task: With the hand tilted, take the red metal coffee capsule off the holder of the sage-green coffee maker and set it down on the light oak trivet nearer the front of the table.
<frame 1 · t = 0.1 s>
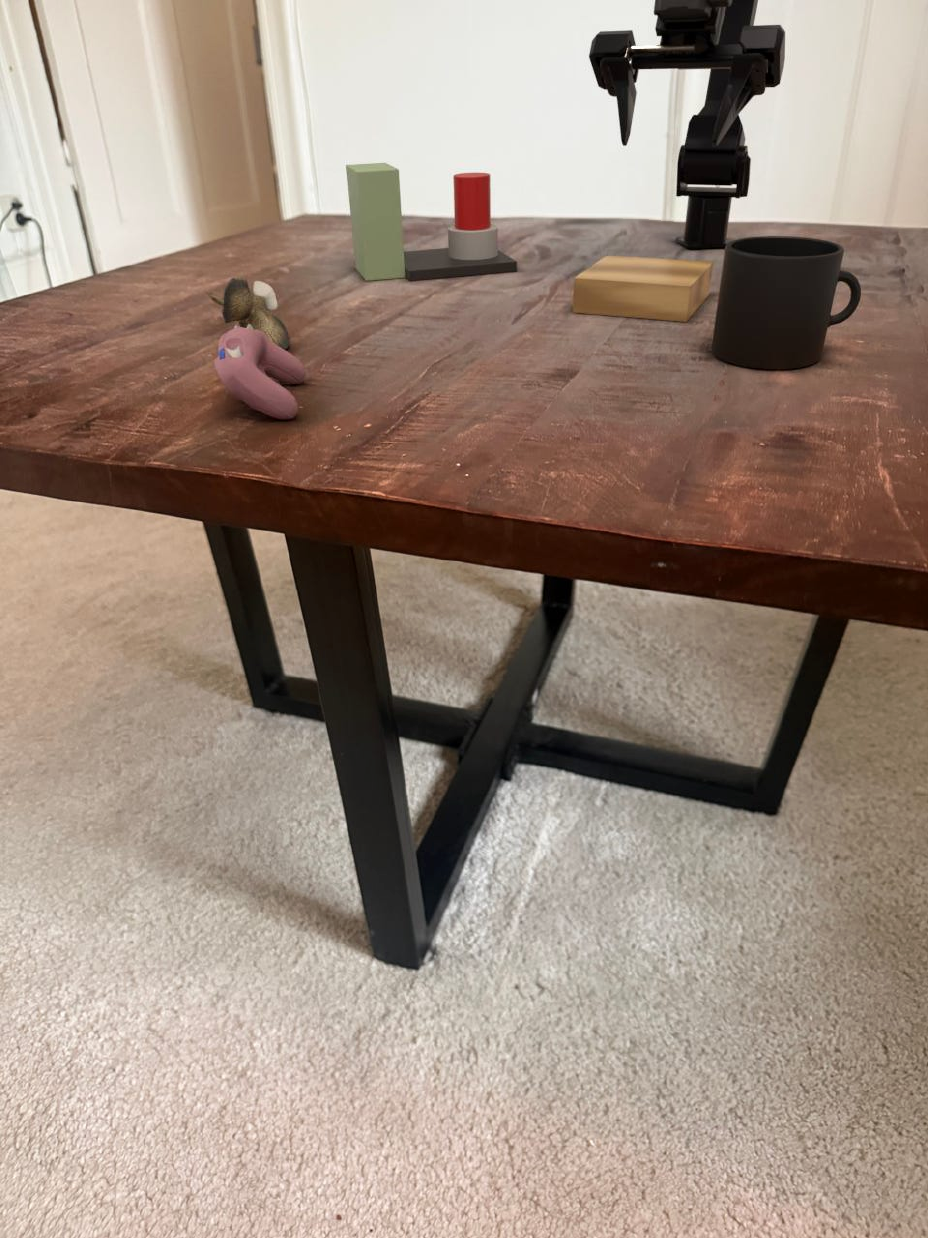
hand: (668, 143, 85), 15 cm above the table, tool tilted 35°, fingers open, 9 cm apart
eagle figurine: (253, 346, 82), on the table
video game controller: (267, 404, 68), on the table
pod: (472, 227, 108), point 4 cm above the table, touching coffee maker
trivet: (642, 303, 91), on the table
coffee maker: (473, 264, 110), on the table
mug: (779, 356, 75), on the table
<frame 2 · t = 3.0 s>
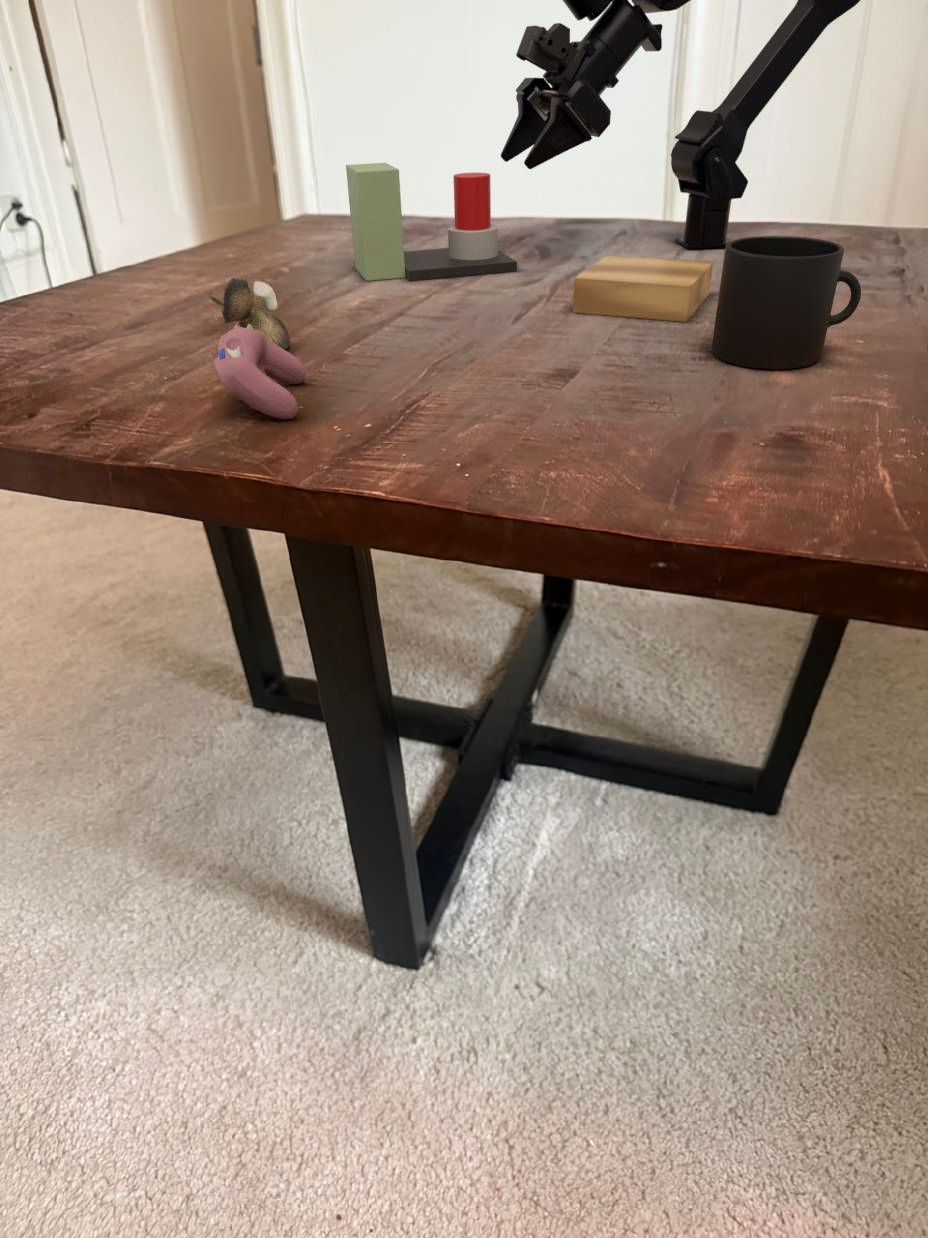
hand: (514, 162, 105), 12 cm above the table, tool tilted 45°, fingers open, 9 cm apart
nothing on the table moved.
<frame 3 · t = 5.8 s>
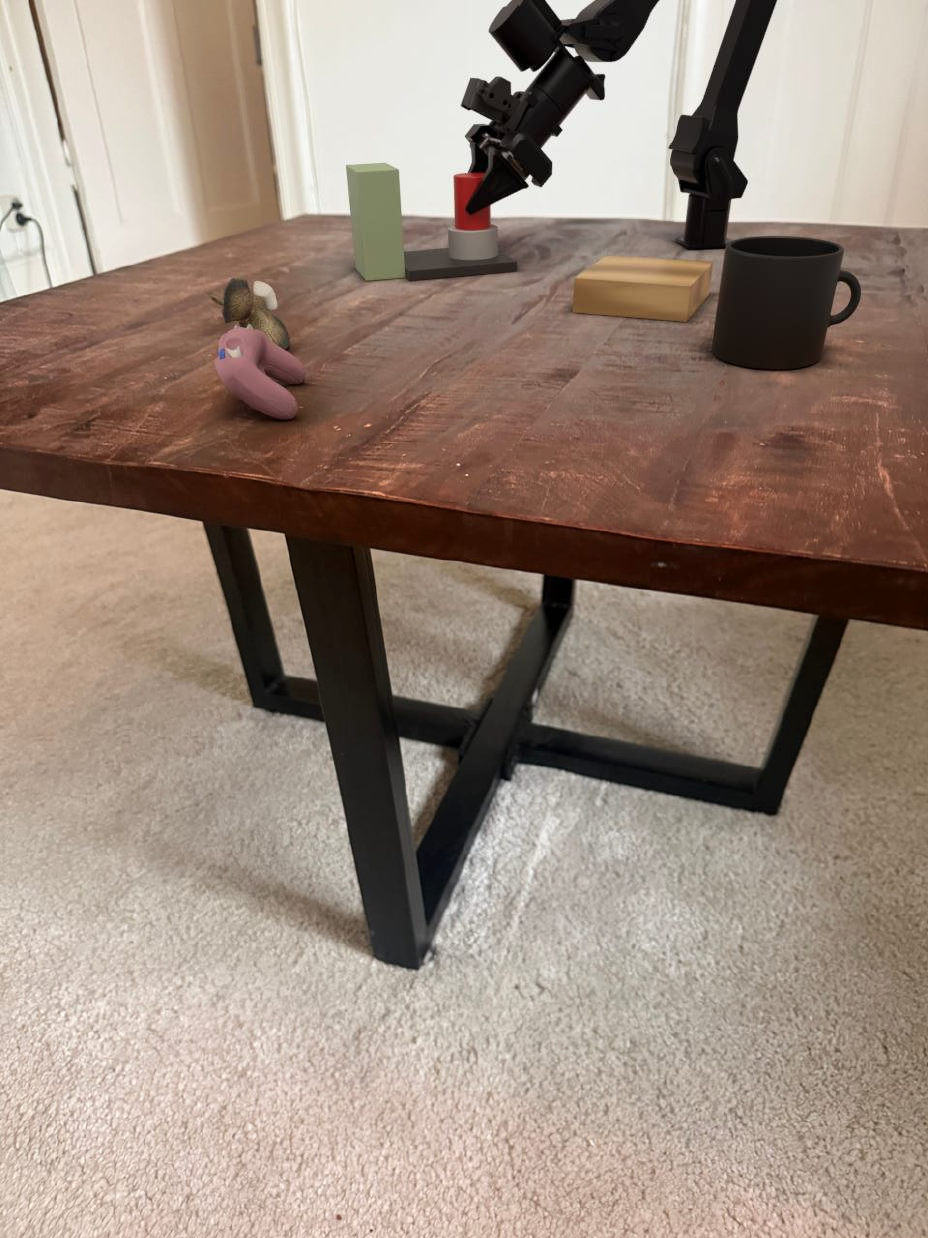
hand: (461, 209, 106), 7 cm above the table, tool tilted 45°, fingers closed on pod, 4 cm apart
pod: (472, 227, 108), point 5 cm above the table, touching coffee maker, gripper
everything else where it was.
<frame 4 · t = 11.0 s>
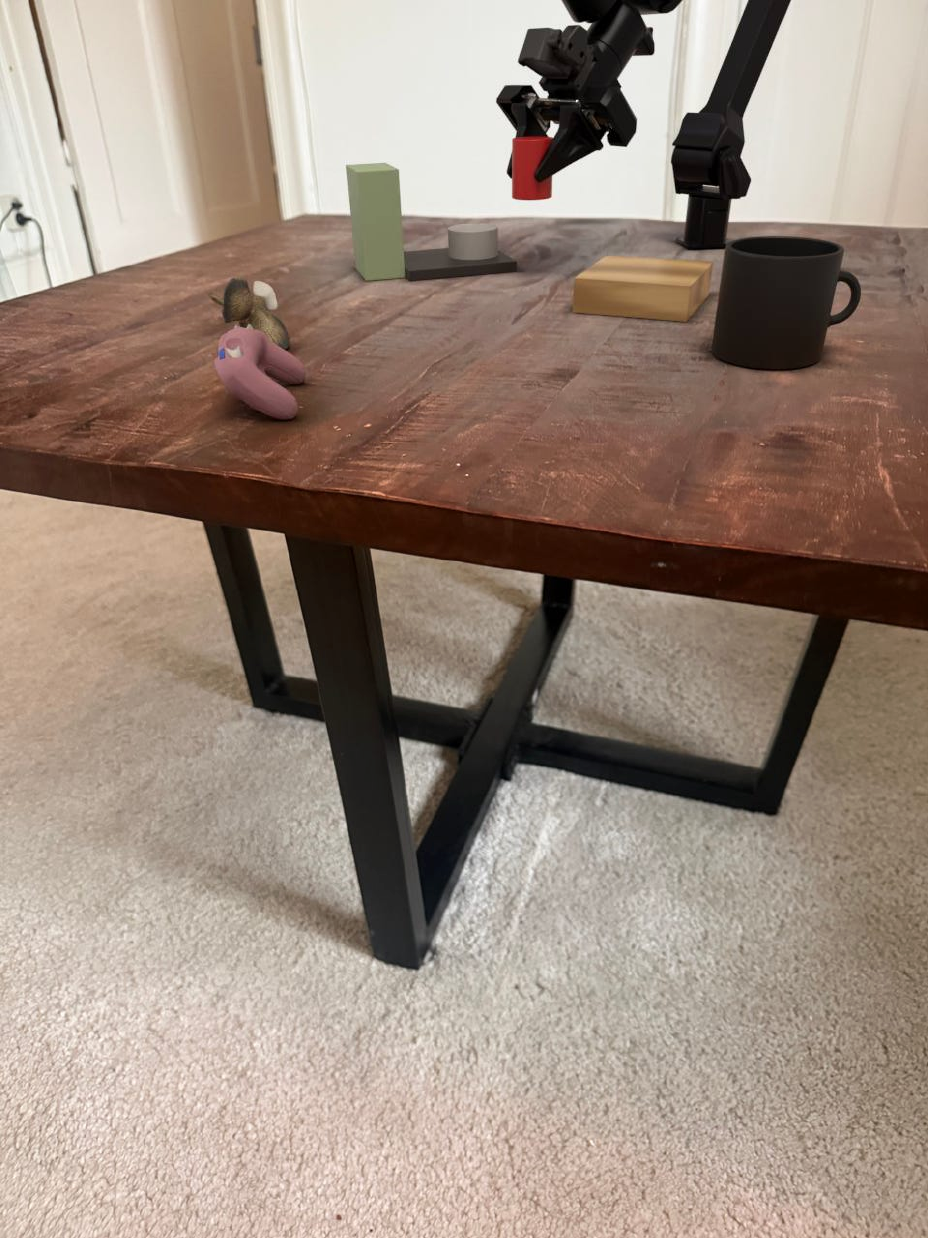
hand: (522, 177, 96), 11 cm above the table, tool tilted 45°, fingers closed on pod, 4 cm apart
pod: (531, 197, 97), point 9 cm above the table, touching gripper
everything else where it was.
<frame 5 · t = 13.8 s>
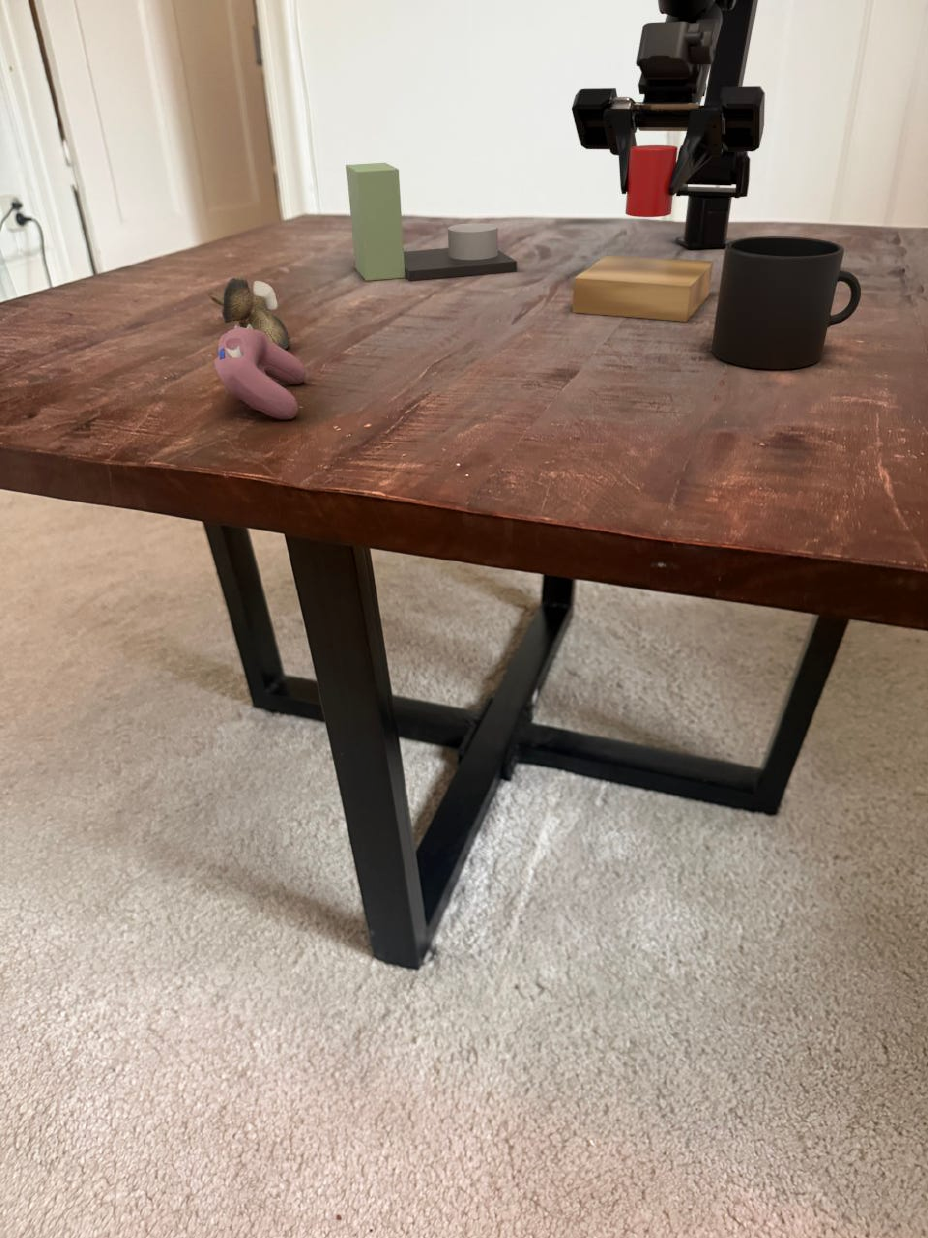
hand: (646, 191, 84), 11 cm above the table, tool tilted 45°, fingers closed on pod, 4 cm apart
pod: (647, 213, 86), point 9 cm above the table, touching gripper
everything else where it was.
when the fingers open (6 cm above the table, at t = 16.1 s): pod stays where it is, resting on trivet.
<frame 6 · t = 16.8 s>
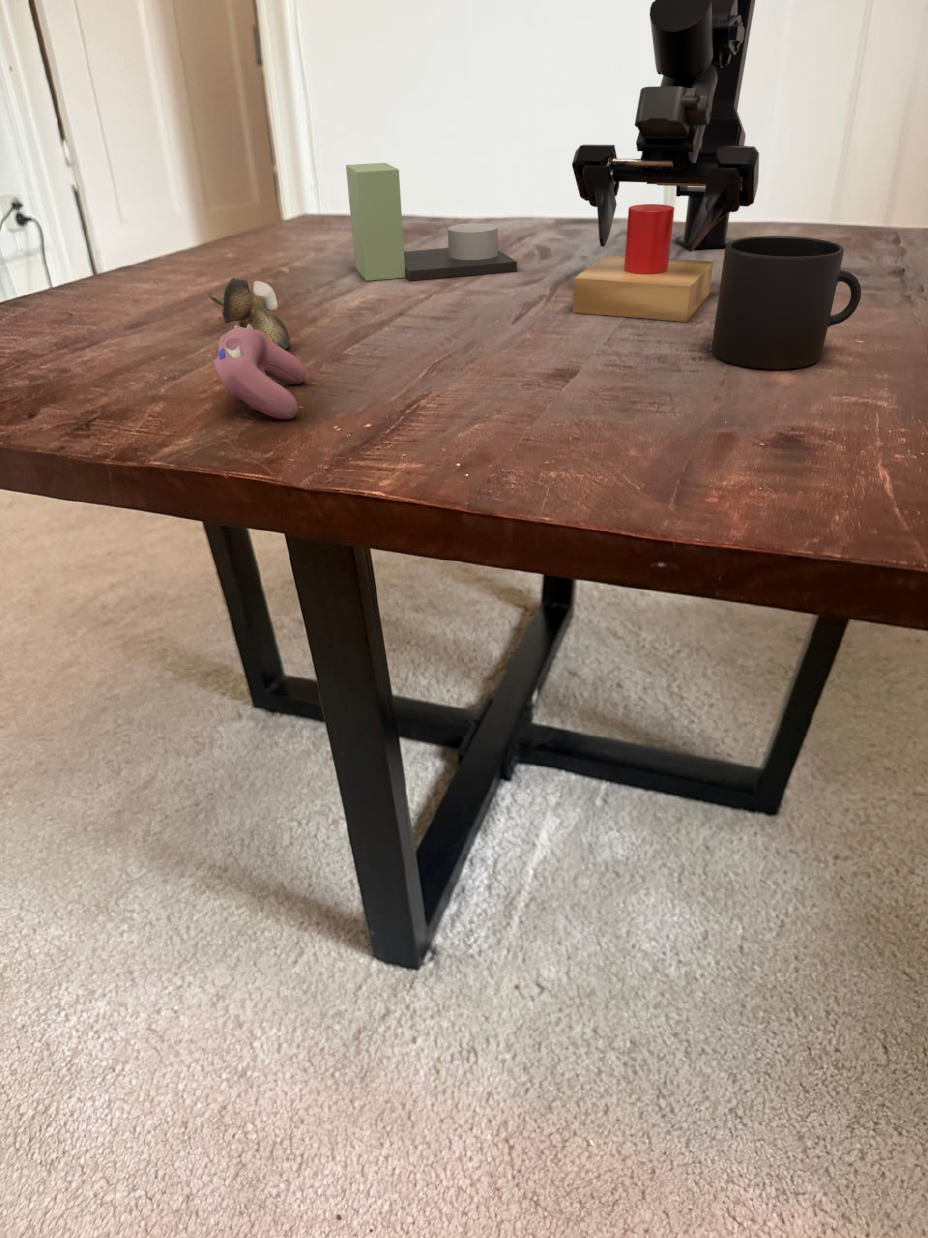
hand: (644, 246, 87), 6 cm above the table, tool tilted 45°, fingers open, 9 cm apart
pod: (645, 269, 89), point 3 cm above the table, touching trivet
everything else where it was.
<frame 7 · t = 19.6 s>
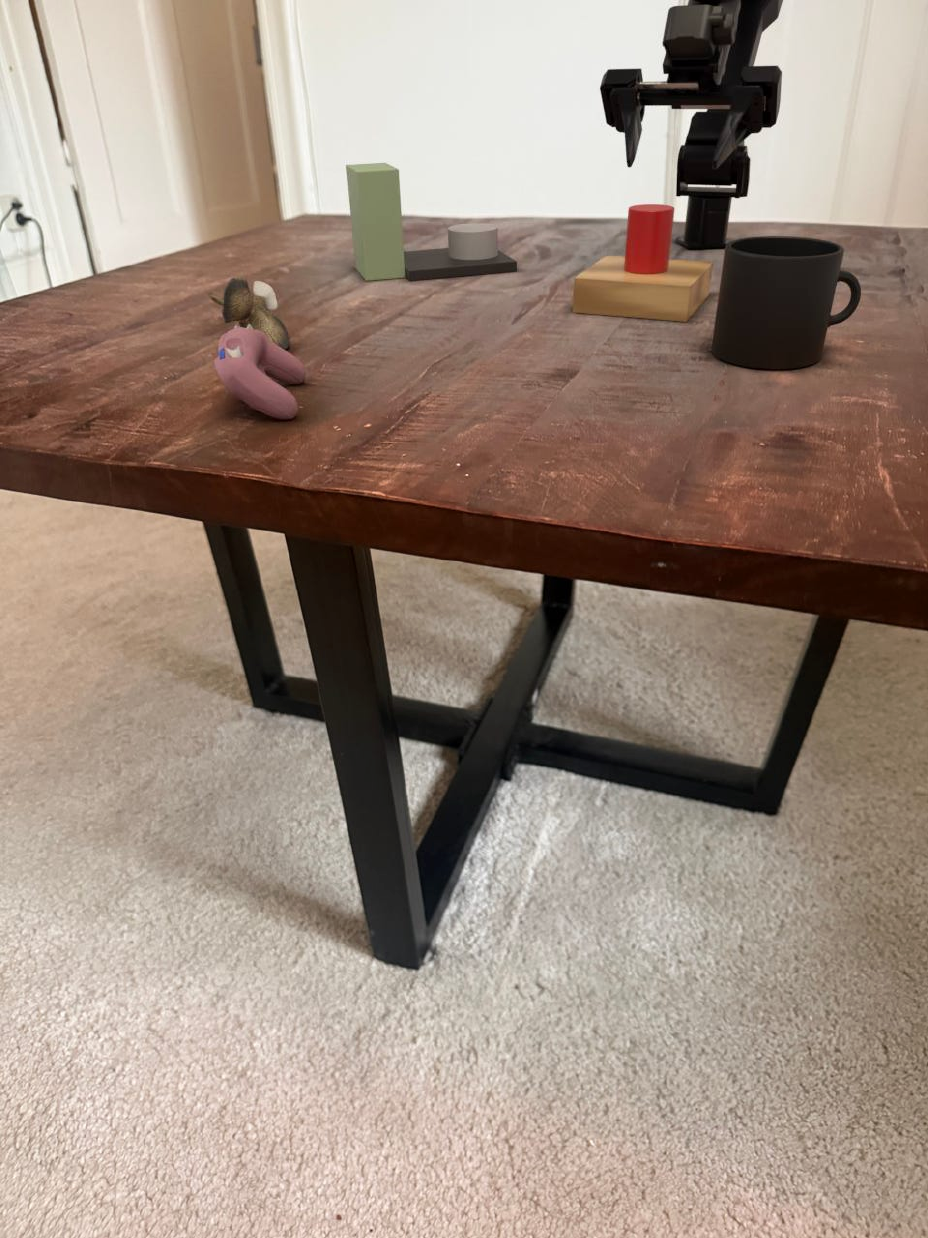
hand: (670, 165, 90), 13 cm above the table, tool tilted 45°, fingers open, 9 cm apart
nothing on the table moved.
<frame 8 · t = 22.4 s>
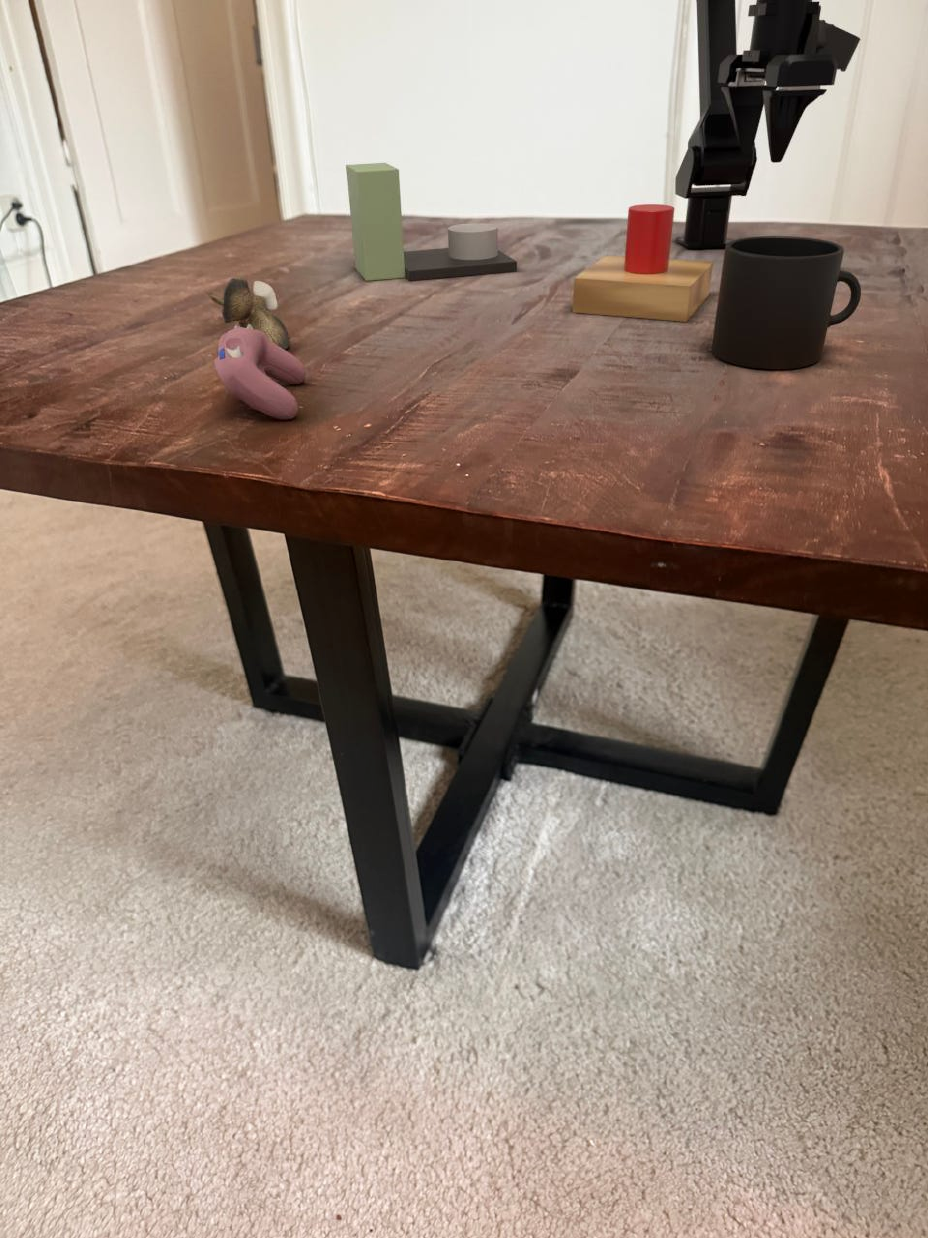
hand: (760, 157, 98), 12 cm above the table, tool pointing down, fingers open, 9 cm apart
nothing on the table moved.
at the end: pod inside the target area on the trivet (0.1 cm from its centre), point 3.5 cm above the trivet's base; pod tilted 0°; the gripper is holding nothing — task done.
